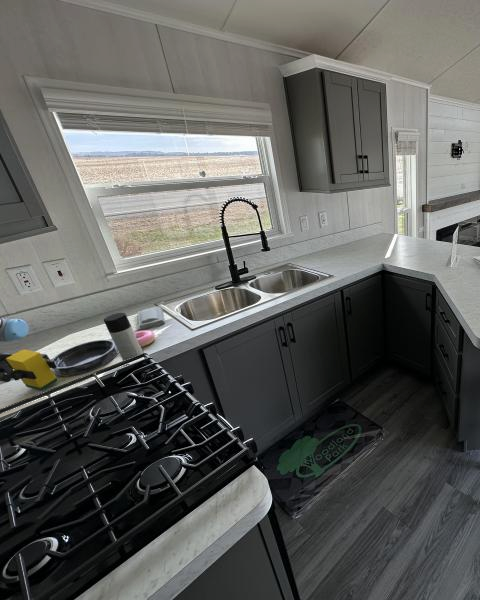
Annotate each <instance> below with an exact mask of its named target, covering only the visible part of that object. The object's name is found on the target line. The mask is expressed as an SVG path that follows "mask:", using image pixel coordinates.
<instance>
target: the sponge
mask: <svg viewBox="0 0 480 600" xmlns="http://www.w3.org/2000/svg"><path fill="white" fill-rule="evenodd" d="M41 354H42V353H40V352H38V351H33V350H29V349H25V348H24V349H21V350H19V351H18V352H15V353H13V354H11V356H10V357H8V358H6V360H7V361H8V362H9V364H10V365H11V366H12V368H13V370H14V371H15V372H16V370H25V371H32V372H33V373H34V374H35V376H36V377H37V378H36V379H35V380H34V379H27V378H23V379H20V380H21V381H22V383H23V384H24V385H25V387H26V388H28V389H29V388H30V389H33V390H38V391H42V392H43V391H45V390H47V389H48V388H49V387H52V386H53V385H54V384H56V383H58V382H59V379H58V377H57V375H56V374H55V373H54V371H53V370H52V368H50V367H49V366H48V364H47V363H46V361H45V360H44V358H43V357H42V355H41Z"/></svg>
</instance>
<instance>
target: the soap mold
mask: <svg viewBox="0 0 480 600" xmlns="http://www.w3.org/2000/svg"><path fill="white" fill-rule="evenodd" d="M137 319H138V321H137V322H138V329H139V331H144V330H146V329H149V328H153V327H158V326H160V325H164V324H166V321H165V316H164V310H163V307H161V305H158V306H154V307H149V308H146V309H142V310H138V311H137Z"/></svg>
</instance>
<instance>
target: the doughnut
mask: <svg viewBox="0 0 480 600" xmlns="http://www.w3.org/2000/svg"><path fill="white" fill-rule="evenodd" d="M134 333H135V335H136V338H137V340H138V342H139V344H140V346H141V348H143V347H146V346H148V345H150V344H151V343H152V342H154V341H155V339H156V334H155V333H154V332H153V331H152V330H146V329H143V330H139V331H136V332H135V331H134Z"/></svg>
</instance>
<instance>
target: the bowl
mask: <svg viewBox="0 0 480 600" xmlns="http://www.w3.org/2000/svg"><path fill="white" fill-rule="evenodd" d="M118 354H119V351H118V349H117V347H116V345H115V343H114V341H113V340H111V339H98V340H91V341H87V342H83V343H80V344H78V345H75V346H72V347H70V348H67V349H66V350H63V351H61V352H60V353H58V354H57V355H55V356H54V357H53V358H52V359H50V361H53V362H54V363H55V365H56V367H57V368H55V369H53V368H51V370H52V372H53V373H54V375H56V376H60V377H68V376H69V377H70V376H76V375H80V374H84V373H87V372H91V371H93V370H96V369H98V368H100V367H102V366H104V365H106V364H107V363H109V362H110V361H112V360H113V359H114V358H115V357H116V356H117V355H118ZM90 370H91V371H90Z"/></svg>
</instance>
